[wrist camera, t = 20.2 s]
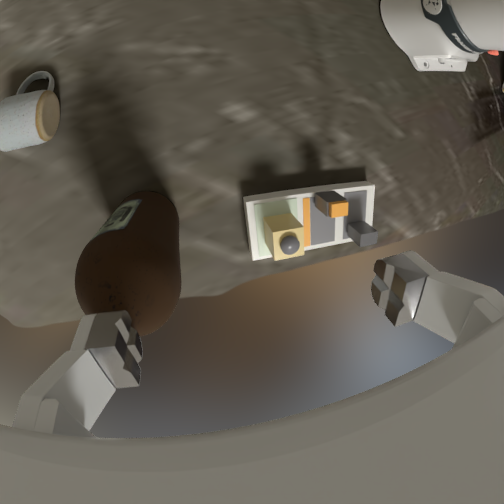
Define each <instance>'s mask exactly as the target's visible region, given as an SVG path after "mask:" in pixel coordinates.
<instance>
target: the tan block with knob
mask: <svg viewBox="0 0 504 504" xmlns="http://www.w3.org/2000/svg"><path fill="white" fill-rule="evenodd" d="M263 222H264V233H265V243H266V245H267V247H268V249H269V251H270V253H271V255H272V257H273V258H274V260H275V261H276V260H281V259H286V258H291V257H296V256H301V255H304V227H303V226H302V224H301V223H300V222H299V221H298V220H297V219H296V218H295V217H294V216H293V214H292V213H287V214H281V215H275V216H269V217H263Z"/></svg>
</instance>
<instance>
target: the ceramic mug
mask: <svg viewBox="0 0 504 504" xmlns="http://www.w3.org/2000/svg"><path fill="white" fill-rule="evenodd" d="M48 78H49V86H48V89H47V90H38V91H33V92H29V93H24V92H25V90H26V88H27V87H28V86H29V85H30V84H31V83H32V82H33V81H35V80H36V79H48ZM53 90H54V79H53V77H52V75H51V74H50V73H48V72H47V71H38V72H35V73H33V74H31V75H30V76H28V77H27V78H26V79H25V80H24V82H23V83H22V84H21V86H20V87H19V89H18V91H17V93H16V95H14V96H10V97H7V98H4V99H3V100H2V101H1V102H0V150H1V151H5V152H6V151H11V150H15V149H19V148H24V147H27V146H33V145H38V144H42V143H44V142H47V141H49V140H50V139H52V137H53V136H54V134H55V133H56V131H57V128H58V125H59V118H60V106H59V101H58V98H57V96H56V95H55V93H54V92H53Z"/></svg>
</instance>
